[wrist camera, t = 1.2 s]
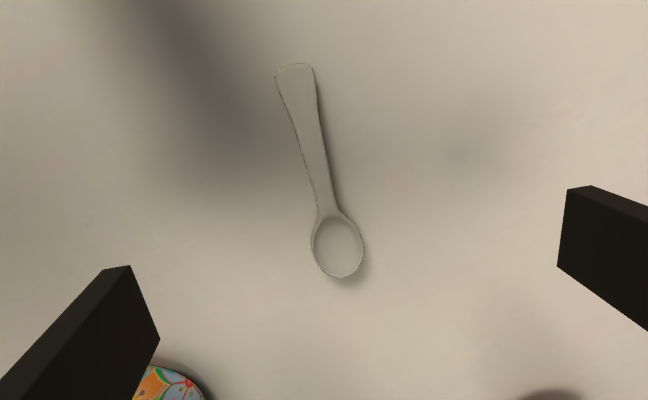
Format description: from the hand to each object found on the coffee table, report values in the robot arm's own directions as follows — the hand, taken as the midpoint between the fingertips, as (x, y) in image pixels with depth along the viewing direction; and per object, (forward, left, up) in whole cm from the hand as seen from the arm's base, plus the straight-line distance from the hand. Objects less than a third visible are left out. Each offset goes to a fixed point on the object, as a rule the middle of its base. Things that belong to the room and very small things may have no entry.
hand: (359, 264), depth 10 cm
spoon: (0, 0, -9) cm, 9 cm away
